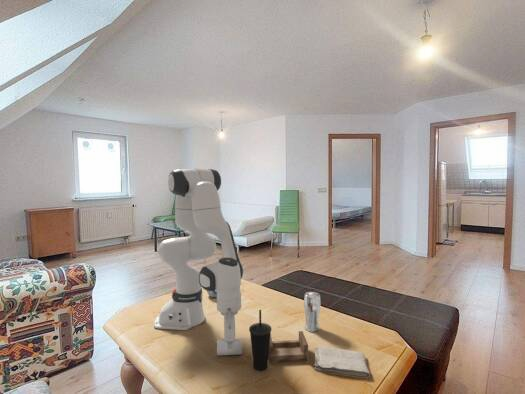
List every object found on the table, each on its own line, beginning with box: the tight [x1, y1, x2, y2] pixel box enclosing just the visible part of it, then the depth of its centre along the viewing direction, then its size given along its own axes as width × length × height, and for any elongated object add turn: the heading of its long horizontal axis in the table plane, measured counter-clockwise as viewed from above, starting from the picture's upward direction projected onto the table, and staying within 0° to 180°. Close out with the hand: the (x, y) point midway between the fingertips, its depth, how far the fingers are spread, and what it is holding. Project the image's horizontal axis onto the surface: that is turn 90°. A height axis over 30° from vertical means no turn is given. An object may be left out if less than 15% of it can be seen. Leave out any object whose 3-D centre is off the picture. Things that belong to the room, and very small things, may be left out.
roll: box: [216, 338, 243, 356], centre depth 103 cm, size 9×5×5 cm, turn 94°
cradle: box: [268, 330, 309, 364], centre depth 102 cm, size 14×9×6 cm, turn 94°
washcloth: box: [314, 346, 371, 379], centre depth 97 cm, size 12×18×3 cm, turn 79°
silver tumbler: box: [303, 291, 321, 333], centre depth 120 cm, size 7×7×15 cm
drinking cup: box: [248, 309, 272, 372], centre depth 95 cm, size 8×8×20 cm
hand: (229, 340), depth 101 cm, fingers open, 8 cm apart
